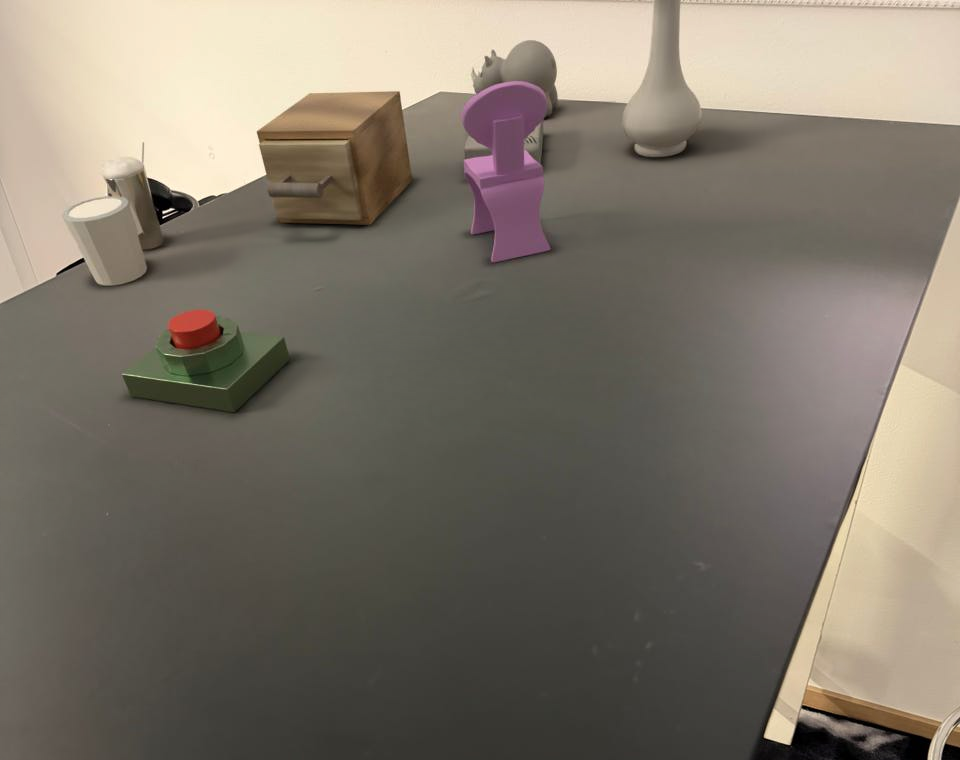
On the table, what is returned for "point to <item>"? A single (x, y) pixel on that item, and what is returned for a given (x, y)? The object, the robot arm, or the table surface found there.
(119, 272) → the white cup
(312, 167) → the drawer
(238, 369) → the button block
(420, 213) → the table surface
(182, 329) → the button
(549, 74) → the toy rhinoceros
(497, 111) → the toy chair
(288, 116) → the cabinet
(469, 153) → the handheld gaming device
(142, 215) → the milkshake
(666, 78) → the flower vase
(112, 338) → the table surface
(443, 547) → the table surface
